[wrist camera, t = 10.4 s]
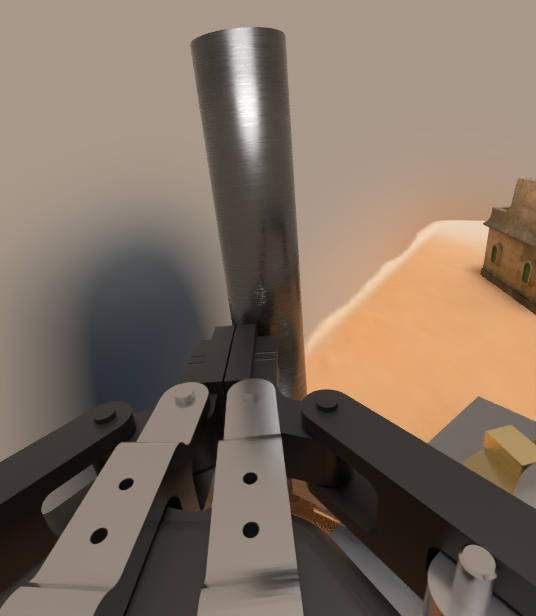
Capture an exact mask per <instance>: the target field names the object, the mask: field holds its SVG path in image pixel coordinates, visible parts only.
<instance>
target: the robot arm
mask: <svg viewBox="0 0 536 616" xmlns="http://www.w3.org/2000/svg"><path fill="white" fill-rule="evenodd" d="M90 465H93V467H94V470H95V473H96V475H97V479H95V480H94V481H92V482H91V483H90V484H88V485H87V486H86V487H84V488H83V489H81V490H80V491H79V492H77V493H76V494H74V495H73V496H72V497H70V498H69V499H68V500H66V501H65V502H63V503H62V504H61V505H59V506H58V507H56V508H55V509H54V510H52V511H51V512H49V513H46V514H42V512H41V507H42V503H43V501H44V500H45V498H46V497H47V496H48V495H49V494H50V493H51V492H52V491H54V490H55V489H56V488H58V487H59V486H61V485H62V484H64V483H65V482H67V481H68V480H70V479H71V478H72V477H74V476H75V475H77V474H78V473H80V472H81V471H83V470H84V469H86V468H87V467H88V466H90ZM286 477H289V478H293V479H297V480H301V481H305V482H306V485H307V488H308V490H309V491H310V493H311V494H312V495H313V496H314V497H315V498H316V499H317V500H318V501H320V502H321V503H322V504H323V505H324V506H325V507H326V508H327V509H328V510H329V511H330V512H331V513H332V514H333V515H334V516H335V517H336V518H337V519H338V520H339V521H340V522H341V523H342V524H344V525H345V526H346V527H347V528H348V529H349V530H350V531H351V532H352V533H353V534H354V535H355V536H356V537H357V538H358V539H359V540H360V541H361V542H362V543H363V544H364V545H365V546H366V547H367V548H369V549H370V550H371V551H372V552H373V553H374V554H375V555H376V556H377V557H378V558H379V559H380V560H381V561H382V562H383V563H384V564H385V565H386V566H387V567H388V568H389V569H390V570H391V571H392V572H394V573H395V574H396V575H397V576H398V577H399V578H400V579H401V580H402V581H403V582H404V583H405V584H406V585H407V586H408V587H409V588H410V589H411V590H412V591H413V592H414V593H415V594H416V595H417V596H419V597H420V598H421V599H422V600H423V601H424V604H423V616H536V509H535V508H533V507H532V506H530V505H528V504H527V503H525V502H523V501H522V500H520V499H518V498H517V497H515V496H513V495H512V494H510V493H509V492H507V491H505V490H504V489H502V488H500V487H499V486H497V485H495V484H494V483H492V482H490V481H489V480H487V479H485V478H484V477H482V476H480V475H479V474H477V473H475V472H474V471H472V470H470V469H469V468H467V467H465V466H464V465H462V464H460V463H459V462H457V461H455V460H454V459H452V458H450V457H449V456H447V455H445V454H444V453H442V452H440V451H439V450H437V449H435V448H434V447H432V446H430V445H429V444H427V443H425V442H424V441H422V440H420V439H419V438H417V437H415V436H414V435H412V434H410V433H409V432H407V431H405V430H404V429H402V428H400V427H399V426H397V425H395V424H394V423H392V422H390V421H389V420H387V419H385V418H384V417H382V416H380V415H379V414H377V413H375V412H374V411H372V410H371V409H369V408H367V407H366V406H364V405H362V404H361V403H359V402H357V401H356V400H354V399H352V398H351V397H349V396H347V395H346V394H344V393H342V392H339V391H335V390H326V389H325V390H318V391H314V392H312V393H310V394H308V395H307V396H306V397H305V398H304V399H303V400H302V401H298V400H294V399H291V398H288V397H286V396H284V395H283V394H282V393H281V392H280V374H279V363H278V352H277V342H276V341H275V340H274V339H273V338H272V337H271V336H261V337H258V331H257V325H256V324H246V325H232V326H218V327H215V330H214V333H213V336H212V339H211V340H203V341H201V342H200V343H199V344H198V345H197V346H196V347H195V348H194V349H193V352H192V354H191V358H190V359H189V362H188V365H187V367H186V369H185V371H184V374H183V376H182V379H181V381H180V384H179V385H176V386H174V387H172V388H170V389H169V390H168V391H166V392H165V393H164V395H163V396H162V397H161V399H160V401H159V403H158V405H157V406H156V407H155V408H152V409H148V410H145V411H141V412H137V413H134V414H133V413H132V409H131V407H130V405H129V404H127V403H125V402H121V401H114V402H109V403H104V404H102V405H99V406H97V407H95V408H93V409H91V410H90V411H88V412H86V413H84V414H83V415H81V416H79V417H78V418H76V419H74V420H72V421H71V422H69V423H67V424H65V425H64V426H62V427H60V428H59V429H57V430H55V431H53V432H52V433H50V434H48V435H47V436H45V437H43V438H41V439H39V440H38V441H36V442H34V443H33V444H31V445H29V446H28V447H26V448H24V449H22V450H20V451H19V452H17V453H15V454H14V455H12V456H10V457H9V458H7V459H5V460H3V461H1V462H0V616H402V615H401V614H400V613H399V612H398V611H397V610H396V609H395V608H394V607H393V605H392V604H391V603H390V602H389V601H388V600H387V599H386V598H385V597H384V595H383V594H382V593H381V592H380V591H379V590H378V589H377V588H376V587H375V586H374V584H373V583H372V582H371V581H370V580H369V579H368V578H367V577H366V576H365V574H364V573H363V572H362V571H361V570H360V569H359V568H358V567H357V566H356V565H355V563H354V562H353V561H352V560H351V559H350V558H349V557H348V556H347V555H346V553H345V552H344V551H343V550H342V549H341V548H340V547H339V546H338V545H337V544H336V542H335V541H334V540H333V539H332V538H331V537H330V536H328V535H327V534H326V533H325V532H324V531H322V530H321V529H320V528H318V527H317V526H315V525H313V524H312V523H310V522H308V521H306V520H304V519H302V518H300V517H297V516H294V515H291V512H290V504H289V496H288V487H287V479H286ZM212 501H213V504H212ZM211 505H212V508H211Z"/></svg>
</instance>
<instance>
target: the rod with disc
mask: <svg viewBox="0 0 536 616" xmlns="http://www.w3.org/2000/svg"><path fill="white" fill-rule="evenodd" d="M190 46H191V53H192V60H193V66H194V73H195V79H196V86H197V93H198V100H199V106H200V113H201V119H202V126H203V132H204V140H205V146H206V153H207V159H208V166H209V173H210V180H211V186H212V193H213V200H214V205H215V213H216V220H217V226H218V233H219V240H220V246H221V253H222V260H223V266H224V273H225V280H226V286H227V293H228V300H229V306H230V313H231V320H232V325H246V324H256V325H257V331H258V337H261V336H271V337H272V338H273V339H274V340H275V341H276V342H277V352H278V363H279V374H280V392H281V393H282V394H283V395H284V396H286V397H288V398H291V399H294V400H298V401H302V400H303V399H304V398H305V397H306V396H307V386H306V370H305V353H304V337H303V320H302V304H301V287H300V271H299V254H298V239H297V222H296V205H295V188H294V174H293V173H294V171H293V155H292V140H291V122H290V105H289V90H288V72H287V57H286V39H285V34H284V33H283V32H282V31H279V30H276V29H272V28H261V27H246V28H245V27H244V28H233V29H227V30H220V31H216V32H211V33H208V34H205V35H202V36H200V37H198V38H196V39H194V40H193V41H192V42H191V44H190ZM483 447H484V448H485V449H483V450H481V451H479V452H477V453H475V454H473V455H471V456H470V457H469V458H467V459H466V460H465V461H463V462H462V463H461V464H462V465H464V466H465V467H467V468H469V469H470V470H472V471H474V472H475V473H477V474H479V475H480V476H482V477H484V478H485V479H487V480H489V481H490V482H492V483H494V484H495V485H497V486H499V487H500V488H502V489H504V490H505V491H507V492H509V493H510V494H512V495H513V496H515V497H517V498H518V499H520V500H522V501H523V502H525V503H527V504H528V505H530V506H532V507H533V508H535V509H536V440H529V439H528V438H527V437H526V436H524V435H523V434H522V433H521V432H520V431H518V430H517V429H516V428H515V427H514V426H512V425H508V426H504V427H500V428H496V429H492V430H488V431H486V432H485V437H484V442H483ZM286 479H287V487H288V496H289V502H293V501H296V500H298V499H299V498H303V499H305V500H307V501H309V502H311V503H313V504H315V505H317V506H319V507H321V508H323V509H326V510H328V509H327V508H326V507H325V506H324V505H323V504H322V503H321V502H320V501H318V500H317V499H316V498H315V497H314V496H313V495H312V494H311V493H310V491H309V490H308V488H307V485H306V482H305V481H301V480H297V479H293V478H289V477H286ZM328 511H329V510H328Z"/></svg>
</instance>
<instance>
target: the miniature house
mask: <svg viewBox="0 0 536 616" xmlns="http://www.w3.org/2000/svg"><path fill="white" fill-rule="evenodd" d="M483 225H486V226H488V227H489V233H488V240H487V246H486V252H485V259H484V265H483V268H482V269H481V275H482V276H483V277H485V278H486V279H488V280H489V281H490V282H492V283H493V284H495V285H496V286H497V287H499V288H500V289H501V290H503V291H504V292H506V293H507V294H508V295H510V296H511V297H512V298H514V299H515V300H517V301H518V302H519V303H521V304H522V305H524V306H525V307H526V308H528V309H529V310H530V311H532V312H533V313H535V314H536V179H529V178H519V179H518V180H517V183H516V187H515V191H514V196H513V200H512V204H511V206H503V207H493V209H492V214H491V217H490V218H489V220H488V221H486V222H484V223H483Z"/></svg>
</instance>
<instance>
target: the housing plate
mask: <svg viewBox="0 0 536 616" xmlns="http://www.w3.org/2000/svg"><path fill="white" fill-rule="evenodd" d="M508 425H512V426H514V427H515V428H516V429H517V430H518V431H520V432H521V433H522V434H523V435H524V436H526V437H527V438H528V439H529V440H536V422H535V421H533V420H531V419H529V418H526V417H524V416H522V415H519V414H517V413H515V412H513V411H510V410H508V409H506V408H504V407H501V406H499V405H497V404H494V403H492V402H490V401H488V400H485V399H483V398H481V397H479V396H478V397H477V398H476V399H475V400H474V401H473V402H472V403H471V404H470V405H469V406H467V407H466V408H465V409H464V410H463V411H462V412H461V413H460V414H459V415H458V416H457V417H456V418H454V419H453V420H452V421H451V422H450V423H449V424H448V425H447V426H446V427H445V428H444V429H443V430H441V431H440V432H439V433H438V434H437V435H436V436H435V437H434V438H433V439H432V440H431V441H430V442H428V443H427V444H429V445H430V446H432V447H434V448H435V449H437V450H439V451H440V452H442V453H444V454H445V455H447V456H449V457H450V458H452V459H454V460H455V461H457V462H459V463H460V464H461V463H462V462H463V461H465V460H466V459H467V458H469V457H470V456H471V455H473V454H475V453H477V452H479V451H481V450H483V449H485V448H484V447H483V442H484V437H485V432H486V431H488V430H492V429H496V428H500V427H504V426H508ZM314 512H316V513H318V514H320V515H322V516H324V517H326V518H328V519H331V520H333V521H335V522H337V523H339V524H340V525H338V526H337V527H336V528H335V529H334V530H333V531H332V532H331V533H330V534H329V535H328V536H330V537H331V538H332V539H333V540H334V541H335V542H336V544H337V545H338V546H339V547H340V548H341V549H342V550H343V551H344V552H345V553H346V555H347V556H348V557H349V558H350V559H351V560H352V561H353V562H354V563H355V565H356V566H357V567H358V568H359V569H360V570H361V571H362V572H363V573H364V574H365V576H366V577H367V578H368V579H369V580H370V581H371V582H372V583H373V584H374V586H375V587H376V588H377V589H378V590H379V591H380V592H381V593H382V594H383V595H384V597H385V598H386V599H387V600H388V601H389V602H390V603H391V604H392V605H393V607H394V608H395V609H396V610H397V611H398V612H399V613H400V614H401V615H402V616H423V604H424V601H423V600H422V599H421V598H420V597H419V596H417V595H416V594H415V593H414V592H413V591H412V590H411V589H410V588H409V587H408V586H407V585H406V584H405V583H404V582H403V581H402V580H401V579H400V578H399V577H398V576H397V575H396V574H395V573H394V572H392V571H391V570H390V569H389V568H388V567H387V566H386V565H385V564H384V563H383V562H382V561H381V560H380V559H379V558H378V557H377V556H376V555H375V554H374V553H373V552H372V551H371V550H370V549H369V548H367V547H366V546H365V545H364V544H363V543H362V542H361V541H360V540H359V539H358V538H357V537H356V536H355V535H354V534H353V533H352V532H351V531H350V530H349V529H348V528H347V527H346V526H345V525H344V524H342V523H341V522H340V521H339V520H338V519H337V518H336V517H335V516H334V515H333V514H332V513H331V512H330V511H328V510H326V509H323V508H321V507H319V506H317V505H315V507H314Z"/></svg>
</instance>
